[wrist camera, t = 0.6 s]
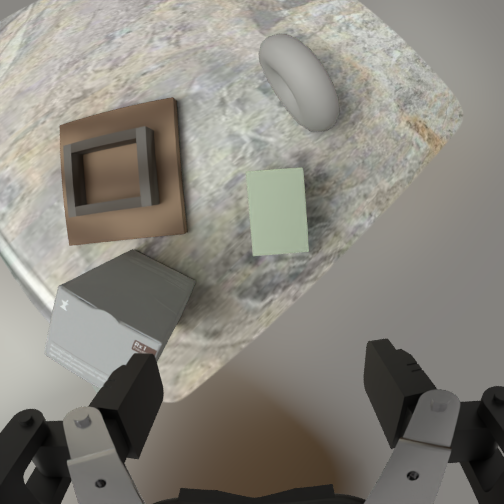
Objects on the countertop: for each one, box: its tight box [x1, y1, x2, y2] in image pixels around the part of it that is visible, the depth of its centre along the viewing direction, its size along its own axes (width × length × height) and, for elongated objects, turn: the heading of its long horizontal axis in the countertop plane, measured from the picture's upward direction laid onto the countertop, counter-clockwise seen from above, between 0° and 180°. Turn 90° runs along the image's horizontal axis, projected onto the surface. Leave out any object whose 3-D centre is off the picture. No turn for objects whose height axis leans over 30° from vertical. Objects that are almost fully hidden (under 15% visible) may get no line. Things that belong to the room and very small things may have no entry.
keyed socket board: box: [60, 97, 187, 246], centre depth 30 cm, size 14×14×4 cm
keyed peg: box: [246, 168, 309, 256], centre depth 27 cm, size 6×4×10 cm, turn 5°
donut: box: [259, 34, 340, 132], centre depth 25 cm, size 10×3×10 cm, turn 32°
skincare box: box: [44, 249, 196, 389], centre depth 27 cm, size 8×7×16 cm
